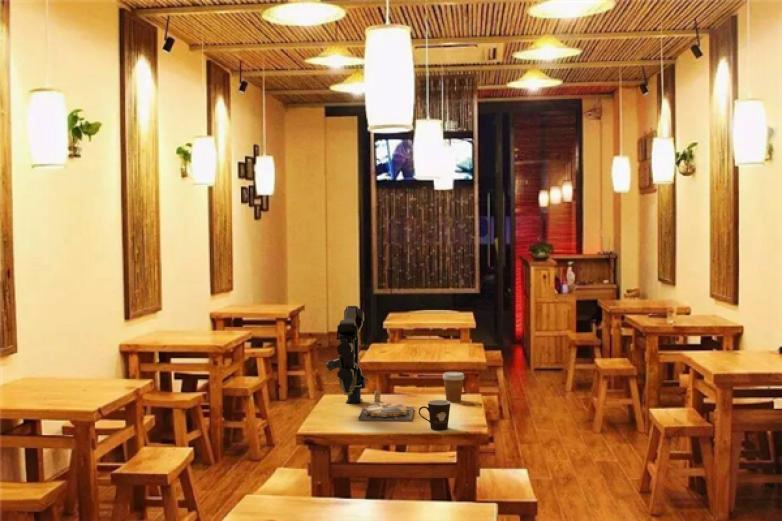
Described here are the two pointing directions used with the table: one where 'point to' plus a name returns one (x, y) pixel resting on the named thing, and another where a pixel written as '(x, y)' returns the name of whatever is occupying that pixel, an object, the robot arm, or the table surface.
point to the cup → (350, 386)
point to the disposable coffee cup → (453, 386)
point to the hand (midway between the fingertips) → (347, 390)
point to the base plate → (369, 417)
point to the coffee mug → (438, 414)
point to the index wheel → (385, 408)
